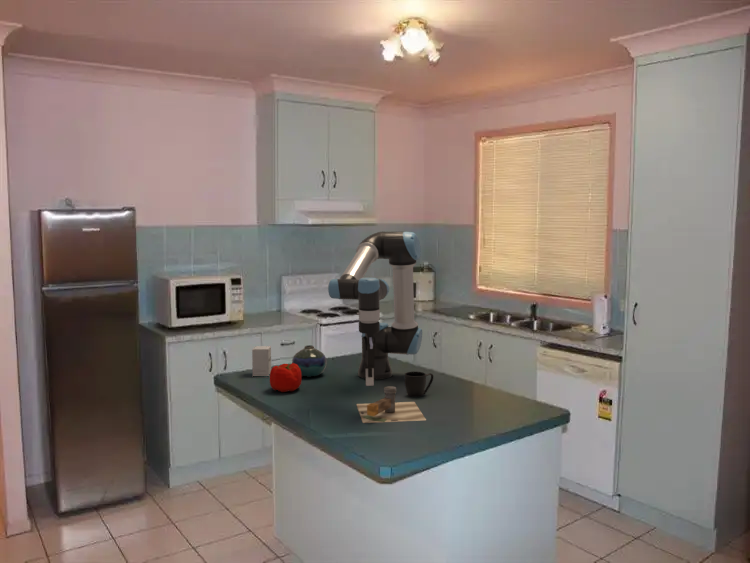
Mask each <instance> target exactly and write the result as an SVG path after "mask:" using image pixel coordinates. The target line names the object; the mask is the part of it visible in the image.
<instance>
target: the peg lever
mask: <svg viewBox="0 0 750 563" xmlns="http://www.w3.org/2000/svg"><path fill="white" fill-rule="evenodd" d="M383 393H384V398H381V399H379V400H377V401H374V402H372V403H371V402H370V403H371V404H369V403H368V404H369V405H367V415H370V416H375V415H377V414H378V413H380V412H382V411H384V410H385V412H390V413H391V412H395V403H396V393H397V387H396V386H392V385H391V386H384V388H383Z"/></svg>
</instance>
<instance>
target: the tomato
mask: <svg viewBox="0 0 750 563" xmlns="http://www.w3.org/2000/svg"><path fill="white" fill-rule="evenodd" d="M269 385H270V387H271V389H272V390H274V391H276V390H278V391H277V392H281V393H286V392H294V391H296V390H298V388H300V386H302V376H301V369H300V368H299V367H298V365H297V364H294V363H292V362H291V363H282V364H280V365H279V366H278V365H275V366H272V367H271V372H270V375H269Z"/></svg>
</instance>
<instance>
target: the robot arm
mask: <svg viewBox="0 0 750 563" xmlns="http://www.w3.org/2000/svg"><path fill="white" fill-rule="evenodd" d="M355 250H356V251H355V252H356V253H355V255H354V256H353V258H352V259H351V261H350V262H349V264H348V265H347V267H346V268H345V270H344V271H343V273H342V274H341V276H340V277H339V278H332V279H331V280H329V282H328V287H327V289H328V290H327V291H328V295H329V298H331V299H335V300H353V301H354V300H356V301H358V312H356V315H357V316H358V320H359V322H358V332H359V333H360V334H361V361H360V363H359V367H358V371H357V376H358V377H359V378H362V379H365V386H366V387H369V386H371V387H372V386H374V385H375V384H374V383H375V382H374V381H375V380H384V379H385V380H386V379H389V378H391V377H392V376H393V370H392V367H391V364H390V360H389V354H393V355H396V354H397V355H406V356H408V355H411V356H412V355H413V356H414V355H418V353H419V351H420V349H421V347H422V341H423V329H422V328H420V327H419V323H418V322H417V321H416V320H415V301H414V300H415V298H414V294H415V293H414V266H416V265H417V260H420V257H421V245H420V240H419V237H418V235H417V234H416V233H415V232H412V231H377V232H375V233H374V232H373V233H372V234H370V235H369V236H367V237H365V238H364V239H363V240H361V242H360V243H359V244H358V246H357V247H356V249H355ZM382 259H383V260H388V265H389V266H390V267H391V268H392V279H393V280H392V284H393V309H394V310H393V311H394V321H393V322H392V323H391V326H389V324H388V322H380V320H381V317H380V316H381V315H380V313H381V309H380V301H381V300H384V299H385V298H386V297H387V296H388V294H389V292H390V287H389V284H388V282H387V281H386V280H384V279H382V278H378V277H365V275H366V273H367V272H368V270H369V268H370V267H371V265H372V264H373V263H375V262H376V261H377V260H382Z"/></svg>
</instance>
